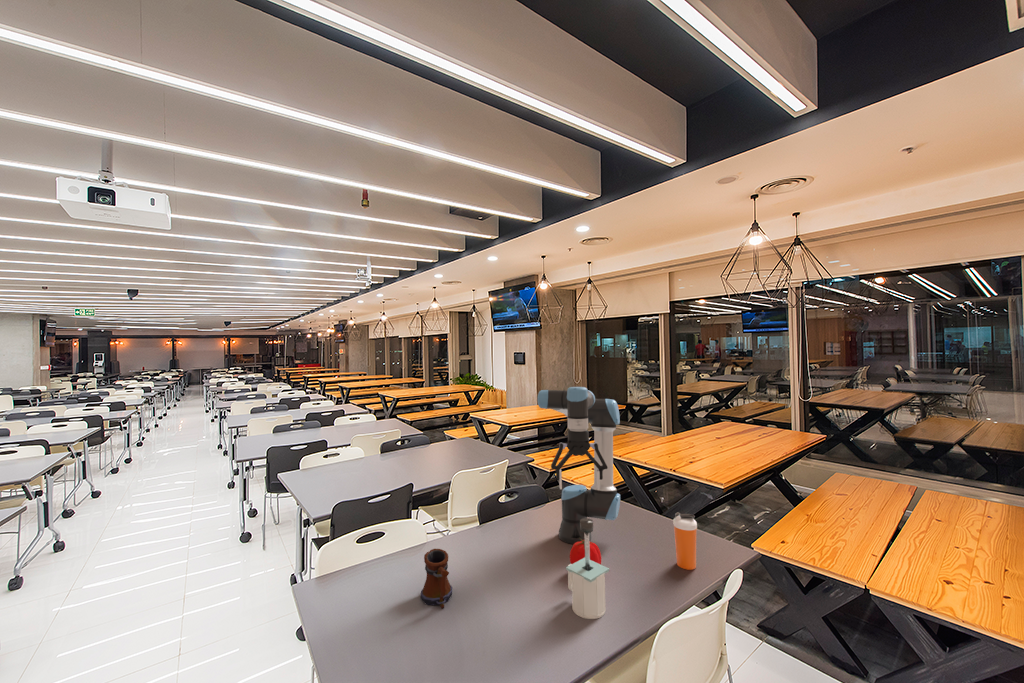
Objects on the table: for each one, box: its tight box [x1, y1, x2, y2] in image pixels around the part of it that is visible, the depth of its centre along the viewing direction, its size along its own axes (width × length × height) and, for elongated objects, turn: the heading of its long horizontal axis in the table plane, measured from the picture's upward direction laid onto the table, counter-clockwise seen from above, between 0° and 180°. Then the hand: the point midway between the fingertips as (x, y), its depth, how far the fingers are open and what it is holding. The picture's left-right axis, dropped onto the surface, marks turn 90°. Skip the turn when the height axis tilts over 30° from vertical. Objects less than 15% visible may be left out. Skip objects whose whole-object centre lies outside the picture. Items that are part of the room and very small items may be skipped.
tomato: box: [569, 539, 602, 565], centre depth 156 cm, size 12×12×13 cm
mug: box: [420, 548, 453, 609], centre depth 141 cm, size 18×12×15 cm, turn 25°
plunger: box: [580, 517, 594, 571], centre depth 136 cm, size 8×8×18 cm
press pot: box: [565, 558, 610, 620], centre depth 136 cm, size 14×11×13 cm
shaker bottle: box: [672, 511, 698, 571], centre depth 162 cm, size 9×9×20 cm
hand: (579, 488), depth 146 cm, fingers open, 13 cm apart
